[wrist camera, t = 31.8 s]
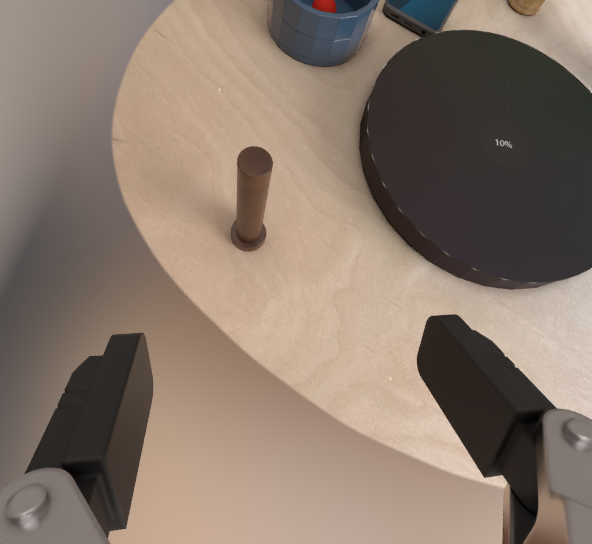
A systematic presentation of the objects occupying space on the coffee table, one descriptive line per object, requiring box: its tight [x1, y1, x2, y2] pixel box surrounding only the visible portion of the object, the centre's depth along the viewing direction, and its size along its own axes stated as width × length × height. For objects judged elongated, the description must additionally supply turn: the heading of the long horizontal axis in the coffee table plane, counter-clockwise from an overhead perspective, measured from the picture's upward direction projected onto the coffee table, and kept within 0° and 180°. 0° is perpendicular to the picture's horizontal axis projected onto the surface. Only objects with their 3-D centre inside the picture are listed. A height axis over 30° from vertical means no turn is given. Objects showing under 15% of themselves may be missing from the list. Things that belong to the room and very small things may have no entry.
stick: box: [231, 147, 273, 251], centre depth 29 cm, size 3×3×12 cm
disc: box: [360, 30, 592, 289], centre depth 41 cm, size 30×30×3 cm
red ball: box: [312, 0, 337, 13], centre depth 41 cm, size 3×3×3 cm
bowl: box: [268, 0, 379, 67], centre depth 41 cm, size 11×11×6 cm
